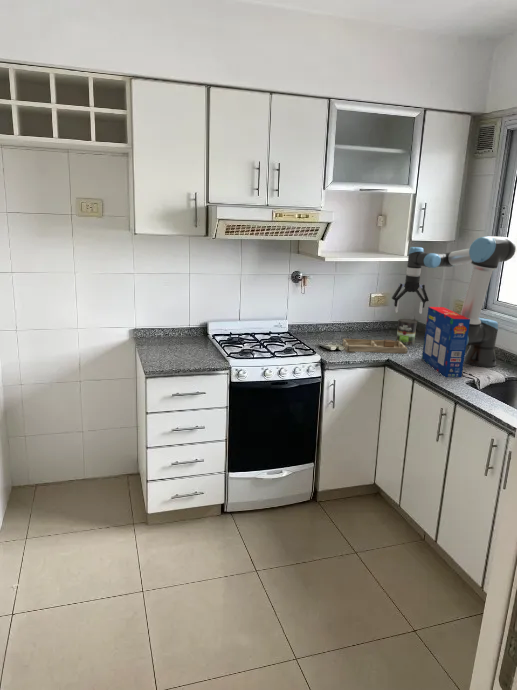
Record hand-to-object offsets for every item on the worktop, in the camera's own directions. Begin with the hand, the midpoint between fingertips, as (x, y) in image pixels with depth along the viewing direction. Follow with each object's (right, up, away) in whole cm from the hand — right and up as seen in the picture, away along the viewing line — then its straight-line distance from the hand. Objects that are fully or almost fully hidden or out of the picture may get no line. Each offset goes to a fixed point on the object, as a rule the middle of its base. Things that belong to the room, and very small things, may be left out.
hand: (408, 312), depth 293 cm
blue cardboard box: (+5, -30, -38) cm, 48 cm away
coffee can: (-1, -18, +5) cm, 19 cm away
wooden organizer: (-22, -21, -9) cm, 31 cm away
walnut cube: (-14, -20, -9) cm, 26 cm away
